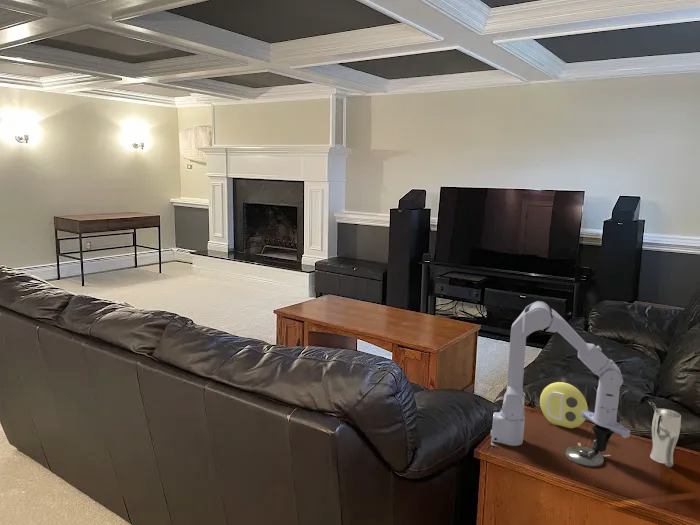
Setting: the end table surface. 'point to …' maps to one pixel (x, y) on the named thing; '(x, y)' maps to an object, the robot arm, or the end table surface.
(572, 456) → the cam dial
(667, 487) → the end table surface
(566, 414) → the emoji
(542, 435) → the end table surface
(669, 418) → the beer glass
